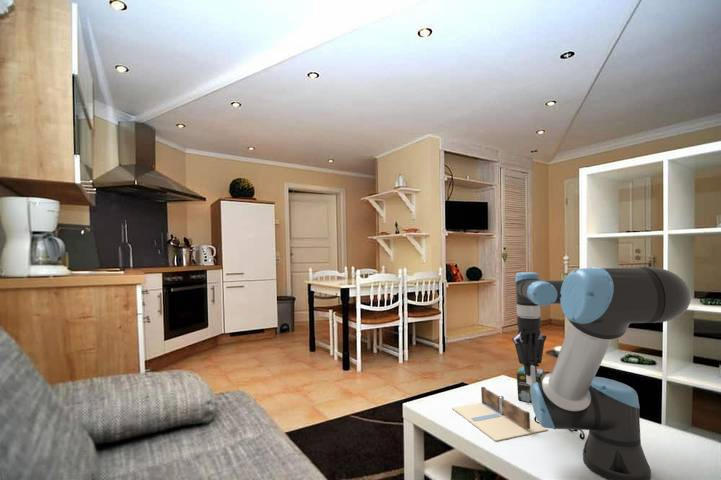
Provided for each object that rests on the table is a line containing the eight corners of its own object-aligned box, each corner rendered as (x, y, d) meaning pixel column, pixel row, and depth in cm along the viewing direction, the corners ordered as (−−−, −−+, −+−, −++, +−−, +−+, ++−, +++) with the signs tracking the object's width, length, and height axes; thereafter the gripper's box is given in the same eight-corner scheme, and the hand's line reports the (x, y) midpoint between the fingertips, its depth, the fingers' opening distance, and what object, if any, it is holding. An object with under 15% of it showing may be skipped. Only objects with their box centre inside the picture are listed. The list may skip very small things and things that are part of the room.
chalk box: (546, 397, 143) (544, 361, 144) (542, 405, 136) (541, 367, 136) (521, 392, 148) (520, 357, 149) (517, 400, 141) (515, 363, 142)
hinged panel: (503, 414, 127) (502, 399, 127) (506, 413, 127) (505, 399, 127) (527, 429, 116) (526, 413, 116) (530, 428, 116) (529, 412, 116)
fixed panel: (500, 413, 130) (500, 396, 130) (498, 414, 129) (497, 396, 130) (484, 403, 139) (483, 386, 139) (481, 403, 139) (481, 387, 139)
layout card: (548, 430, 117) (548, 428, 117) (495, 441, 111) (495, 440, 111) (498, 401, 141) (497, 399, 141) (452, 408, 135) (452, 407, 135)
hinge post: (505, 415, 128) (504, 397, 128) (501, 415, 127) (501, 397, 127) (502, 413, 129) (501, 395, 129) (498, 413, 129) (498, 396, 129)
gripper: (535, 313, 128) (537, 378, 128) (505, 316, 124) (508, 383, 124) (552, 316, 121) (554, 385, 120) (521, 319, 117) (523, 391, 117)
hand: (531, 384), depth 122 cm, fingers closed
